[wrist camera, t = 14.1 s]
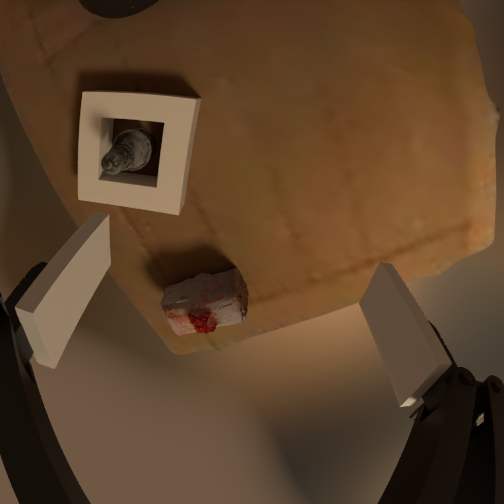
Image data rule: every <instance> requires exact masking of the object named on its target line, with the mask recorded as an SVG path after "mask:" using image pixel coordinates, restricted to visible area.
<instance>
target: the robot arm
mask: <svg viewBox="0 0 504 504" xmlns="http://www.w3.org/2000/svg"><path fill="white" fill-rule="evenodd" d="M157 1H158V0H79V2H80V3H81V5H82V6H83V7H84V8H85V9H86V10H88V11H89V12H91V13H93V14H96V15H98V16H101V17H105V18H122V17H127V16H131V15H134V14H136V13H139V12H141V11H143V10H145V9H147V8H148V7H150V6H151V5H153V4H154V3H156V2H157ZM110 265H111V260H110V239H109V214H104V213H98V212H94V213H93V214H92V215H91V216H90V217H89V218H88V219H87V220H86V221H85V222H84V224H83V225H82V226H81V227H80V228H79V229H78V230H77V231H76V232H75V233H74V234H73V236H72V237H71V238H70V239H69V240H68V241H67V242H66V243H65V244H64V246H63V247H62V248H61V249H60V250H59V251H58V252H57V254H56V255H55V256H54V257H53V258H52V260H51V261H50V262H49V263H45V262H41V263H39V264H37V265H36V266H34V267H33V268H31V270H30V271H29V272H28V273H27V274H26V276H25V278H23V279H22V281H21V282H20V284H19V285H18V286H17V287H16V288H15V289H14V291H13V292H12V293H11V295H10V296H9V297H8V298H7V300H6V301H5V302H4V301H3V298H2V295H1V293H0V455H1V458H2V461H3V464H4V467H5V470H6V472H7V475H8V478H9V480H10V482H11V485H12V488H13V490H14V492H15V495H16V497H17V499H18V502H19V504H91V503H90V502H89V500H88V499H87V497H86V495H85V494H84V492H83V490H82V489H81V486H80V485H79V483H78V481H77V479H76V477H75V475H74V474H73V471H72V470H71V468H70V466H69V464H68V462H67V460H66V457H65V455H64V453H63V451H62V449H61V447H60V445H59V442H58V440H57V437H56V435H55V433H54V431H53V428H52V426H51V423H50V420H49V418H48V415H47V412H46V410H45V407H44V404H43V401H42V398H41V395H40V392H39V389H38V386H37V383H36V380H35V376H34V372H33V369H32V366H31V363H30V362H29V360H30V358H31V357H32V354H33V353H34V356H35V358H36V360H37V362H38V363H39V364H42V365H45V366H47V367H50V368H53V369H55V368H56V365H57V363H58V361H59V359H60V357H61V355H62V353H63V351H64V349H65V346H66V344H67V342H68V340H69V338H70V336H71V334H72V332H73V330H74V328H75V326H76V325H77V323H78V320H79V319H80V317H81V315H82V313H83V312H84V310H85V308H86V306H87V304H88V302H89V301H90V299H91V297H92V295H93V294H94V292H95V290H96V288H97V287H98V285H99V283H100V281H101V280H102V278H103V276H104V274H105V273H106V271H107V270H108V268H109V266H110ZM359 304H360V307H361V309H362V311H363V314H364V316H365V318H366V320H367V323H368V325H369V328H370V330H371V333H372V335H373V337H374V340H375V342H376V345H377V347H378V350H379V352H380V355H381V357H382V360H383V362H384V365H385V368H386V370H387V373H388V375H389V378H390V380H391V383H392V386H393V389H394V392H395V394H396V397H397V400H398V403H399V406H400V407H402V406H410V405H414V404H415V403H416V402H417V401H418V400H419V399H420V398H421V397H422V398H423V400H424V403H423V404H422V405H421V406H420V407H419V408H418V409H416V410H415V411H414V413H413V414H411V416H410V417H409V418H412V417H413V416H414V415H416V414H417V416H416V418H415V419H414V421H415V422H414V424H413V427H412V430H411V432H410V435H409V438H408V440H407V443H406V445H405V448H404V450H403V452H402V455H401V457H400V459H399V462H398V464H397V466H396V468H395V470H394V473H393V475H392V477H391V479H390V481H389V483H388V485H387V487H386V489H385V491H384V493H383V495H382V496H381V498H380V500H379V502H378V504H504V385H503V383H502V381H501V380H500V379H499V378H498V377H496V376H493V375H491V376H489V377H488V378H487V379H486V380H485V381H484V382H479V381H476V380H475V377H474V376H473V374H472V373H471V372H470V371H469V370H468V369H466V368H463V367H457V365H456V363H455V361H454V359H453V357H452V355H451V354H450V352H449V350H448V348H447V346H446V345H444V341H443V340H442V338H440V337H441V336H440V334H439V332H438V331H437V329H436V328H435V327H434V326H433V325H432V323H430V321H429V320H427V318H426V316H425V315H424V313H423V312H422V310H421V308H420V307H419V305H418V303H417V302H416V300H415V299H414V297H413V296H412V294H411V293H410V291H409V289H408V288H407V286H406V285H405V283H404V282H403V280H402V278H401V277H400V275H399V274H398V272H397V271H396V269H395V268H394V267H393V265H392V264H389V263H383V262H380V263H379V265H378V267H377V269H376V271H375V273H374V275H373V277H372V279H371V281H370V283H369V285H368V287H367V289H366V291H365V293H364V295H363V297H362V299H361V301H360V303H359ZM482 416H484V422H482V423H481V424H480V425H479V426H477V423H476V422H477V421H478V420H479V419H480V418H481V417H482Z"/></svg>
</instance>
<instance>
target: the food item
mask: <svg viewBox="0 0 504 504" xmlns="http://www.w3.org/2000/svg"><path fill="white" fill-rule="evenodd" d="M248 295H249V294H248V289H247V285H246V283H245V281H244V280H243V278H242V275H241V274H240V271H239V270H238V269H237V267H236V268H234V269H231V270H228V271H226V272H221V273H216V274H213V275H211V274H208V273H201V274H199V275H196V276H195V277H194V278H190V279H186V280H185V281H183V282H181V283H178V284H174V285H169V286H168V287H167V288H165V292H164V295H163V298H162V300H161V302H160V307H161V309H162V311H163V314H164V316H165V319H166V320H167V322H168V323H169V324H170V326H171V327H172V329H173V330H174V332H175V333H176V334H177V335H178V336H180V335H183V334H187V333H193V332H197V333H202V332H204V333H206V334H208V332H209V333H210V332H212V333H213V332H214V330H215V329H216V327H218V326H227V325H230V324H236V323H240V322H244V320H245V319H246V314H247V306H248V297H247V296H248Z"/></svg>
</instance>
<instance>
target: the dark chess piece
mask: <svg viewBox="0 0 504 504" xmlns="http://www.w3.org/2000/svg"><path fill="white" fill-rule="evenodd" d="M155 150H156V140H155V137H154V135H153V134H152V133H151V132H150V131H149V130H147V129H145V128H135V129H131V130H126V131H123V132H122V133H120V134H119V135H118V136H117V137H116V138H115V140H114V142H113V146H112V148H111V149H110V151H109V152H108V153H106V154H105V155H104V156H103V158H102V161H101V166H102V169H103V170H104V171H105V172H106V173H107V174H110V175H114V174H117V173H119V172H120V171H124V170H129V171H135V170H139V169H141V168H142V167H144V166H145V165H146V164H147V163H148V161H149V159H150V158H151V157H152V156H153V154H154V153H155Z"/></svg>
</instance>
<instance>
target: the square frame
mask: <svg viewBox="0 0 504 504" xmlns="http://www.w3.org/2000/svg"><path fill="white" fill-rule="evenodd" d="M200 102H201V98H197V97H189V96H181V95H172V94H162V93H150V92H136V91H115V90H94V91H86V92H83V94H82V103H81V113H80V126H79V145H78V200H85V201H92V202H98V203H105V204H112V205H118V206H125V207H131V208H138V209H144V210H150V211H157V212H163V213H169V214H175V215H179V214H180V211H181V209H182V207H183V205H184V203H185V195H186V188H187V181H188V174H189V167H190V160H191V154H192V148H193V141H194V136H195V130H196V124H197V118H198V113H199V108H200ZM114 118H120V119H133V120H144V121H154V122H163V123H165V124H164V131H163V138H162V145H161V153H160V162H159V171H158V177H155V176H148V175H141V174H133V173H126V172H119V173H117V174H114V175H110V174H107V173H106V172H105V171H104V170H103V169H102V166H101V161H102V158H103V156H104V155H105V154H106V153H108V152H109V151H110V149H111V148H112V136H113V125H114Z"/></svg>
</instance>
